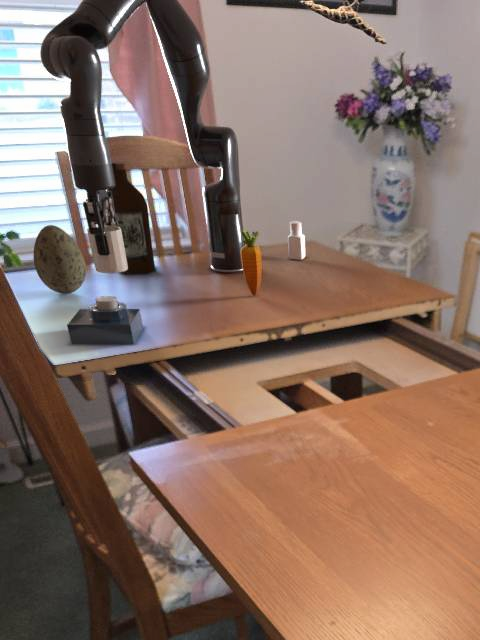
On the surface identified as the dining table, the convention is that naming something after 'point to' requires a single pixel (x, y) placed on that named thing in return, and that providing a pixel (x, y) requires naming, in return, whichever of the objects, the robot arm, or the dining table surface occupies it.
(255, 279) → the carrot
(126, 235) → the olive oil
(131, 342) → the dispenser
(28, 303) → the dining table surface
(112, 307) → the pump
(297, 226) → the pepper shaker
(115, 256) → the cup
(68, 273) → the decorative egg
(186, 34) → the robot arm
